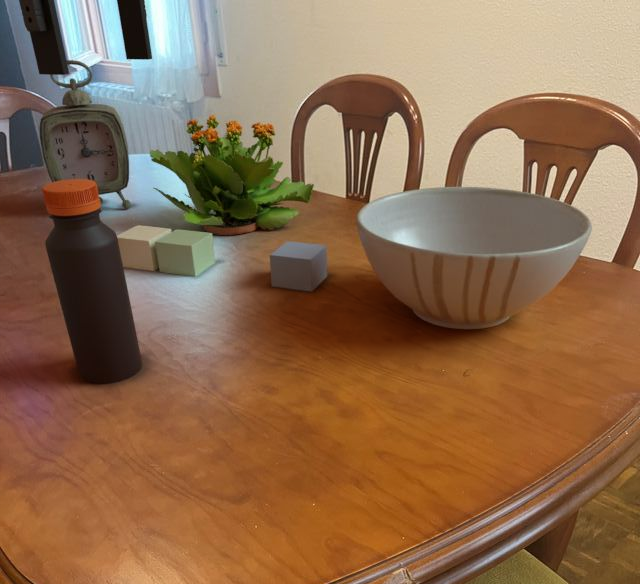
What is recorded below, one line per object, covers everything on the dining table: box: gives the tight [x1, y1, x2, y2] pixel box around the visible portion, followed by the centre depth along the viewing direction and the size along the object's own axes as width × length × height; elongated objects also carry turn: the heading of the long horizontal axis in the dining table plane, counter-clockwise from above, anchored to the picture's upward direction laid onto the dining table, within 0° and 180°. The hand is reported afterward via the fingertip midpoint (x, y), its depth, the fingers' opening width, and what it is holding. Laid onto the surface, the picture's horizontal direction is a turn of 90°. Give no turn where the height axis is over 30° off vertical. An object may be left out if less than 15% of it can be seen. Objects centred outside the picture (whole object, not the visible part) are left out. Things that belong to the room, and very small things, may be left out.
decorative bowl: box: [355, 186, 593, 330], centre depth 80 cm, size 27×27×12 cm
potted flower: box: [149, 114, 315, 236], centre depth 110 cm, size 25×24×18 cm
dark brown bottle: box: [41, 179, 143, 385], centre depth 67 cm, size 7×7×20 cm
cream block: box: [116, 224, 173, 272], centre depth 99 cm, size 6×6×5 cm
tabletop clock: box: [39, 59, 132, 210], centre depth 120 cm, size 14×9×25 cm, turn 104°
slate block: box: [269, 240, 328, 292], centre depth 91 cm, size 6×6×5 cm
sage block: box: [155, 228, 216, 277], centre depth 96 cm, size 6×6×5 cm
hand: (100, 66), depth 64 cm, fingers open, 13 cm apart
